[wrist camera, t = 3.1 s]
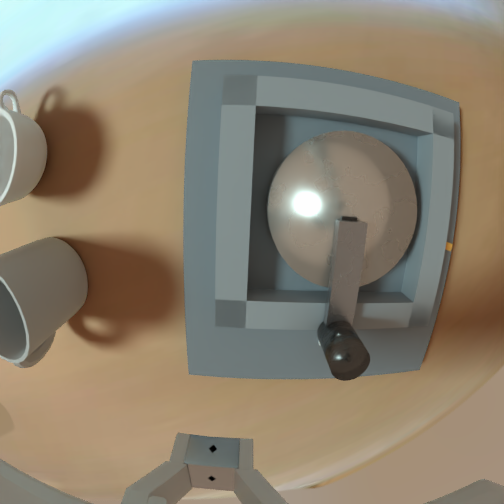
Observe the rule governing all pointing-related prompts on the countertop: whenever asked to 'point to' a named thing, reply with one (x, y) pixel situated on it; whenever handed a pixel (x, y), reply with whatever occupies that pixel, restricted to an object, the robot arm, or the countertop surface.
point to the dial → (342, 228)
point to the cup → (38, 297)
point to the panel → (257, 229)
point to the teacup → (19, 152)
